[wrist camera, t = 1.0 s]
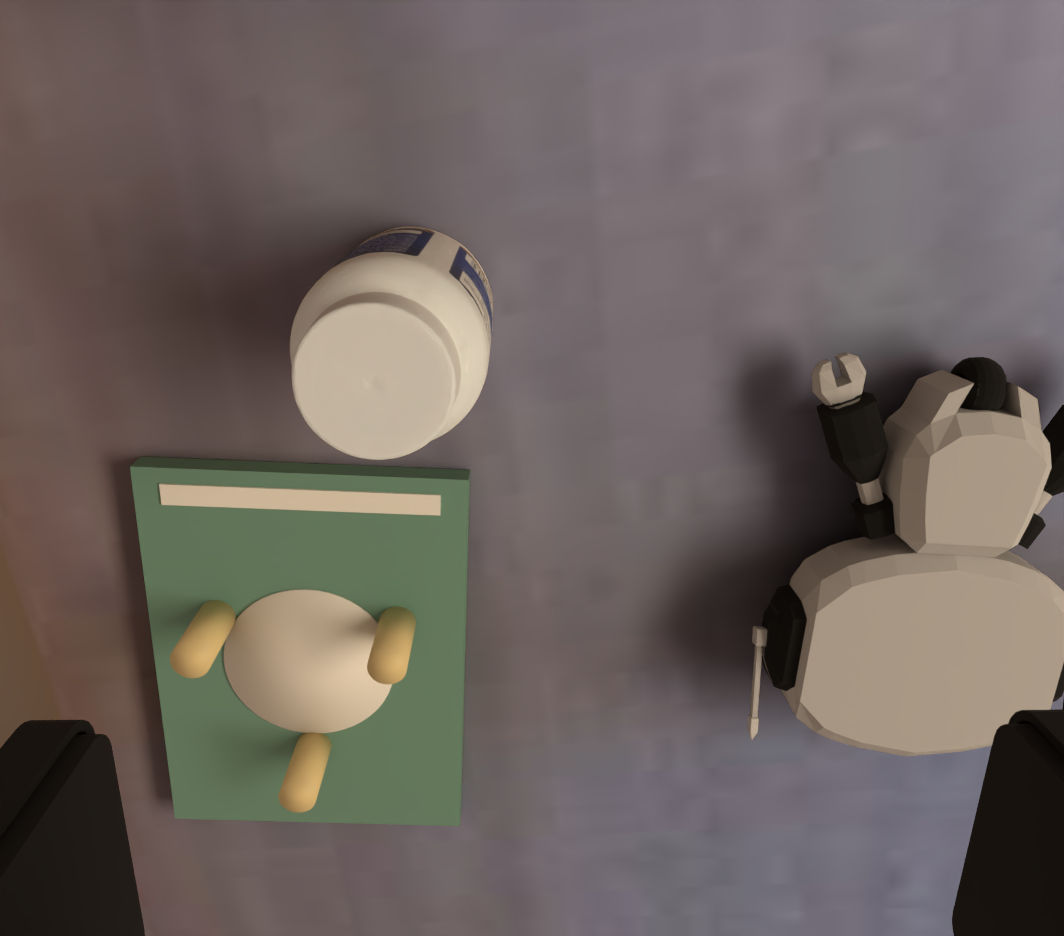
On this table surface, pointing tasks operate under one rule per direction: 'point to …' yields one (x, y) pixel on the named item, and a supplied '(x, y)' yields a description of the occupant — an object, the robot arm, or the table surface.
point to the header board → (308, 637)
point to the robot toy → (924, 569)
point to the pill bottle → (392, 344)
